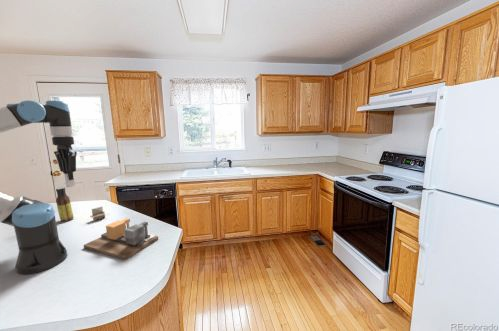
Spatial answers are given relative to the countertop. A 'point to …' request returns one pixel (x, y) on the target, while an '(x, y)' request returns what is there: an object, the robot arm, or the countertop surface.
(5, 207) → the robot arm
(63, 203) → the sauce bottle
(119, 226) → the block
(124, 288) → the countertop surface
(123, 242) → the brown board with bar
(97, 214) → the architectural model
